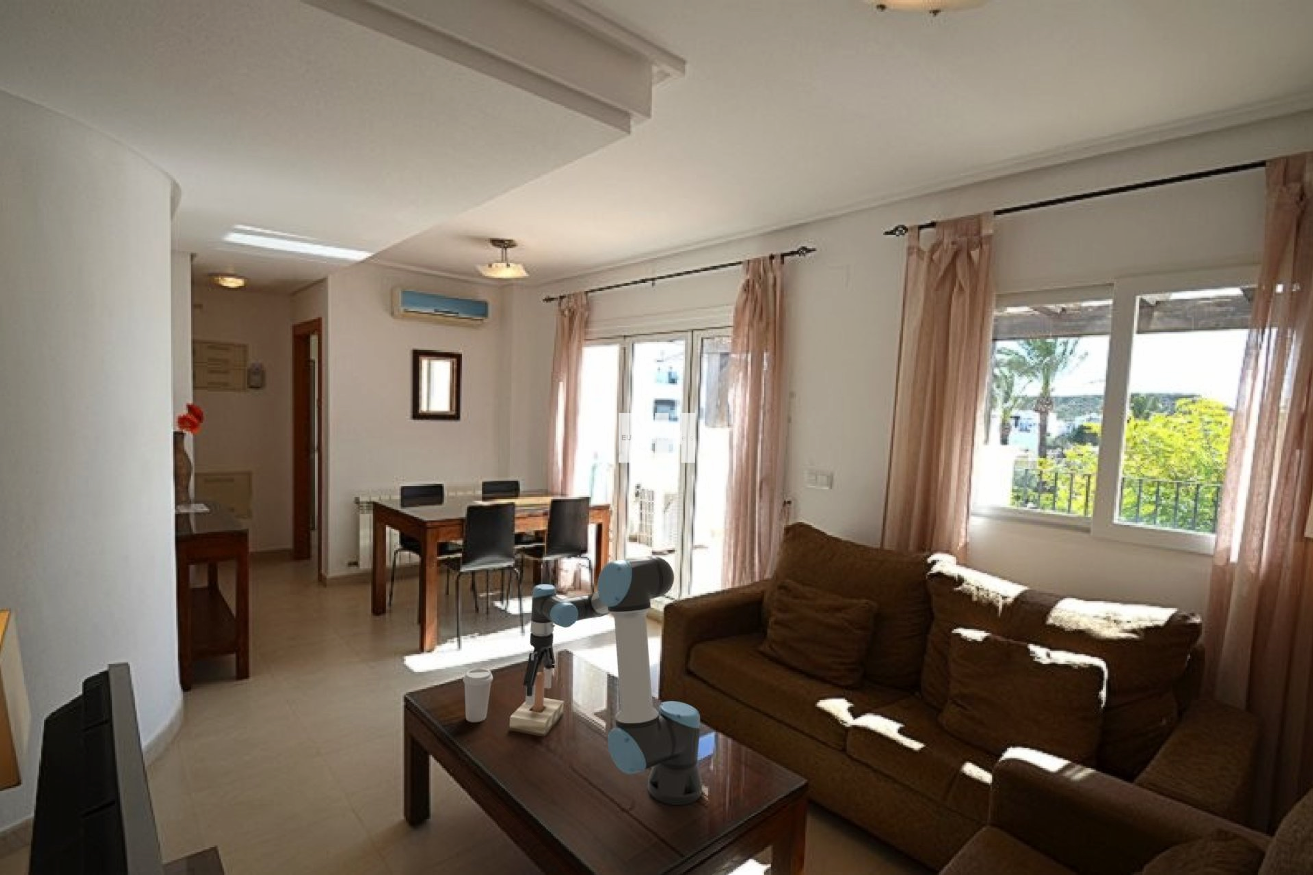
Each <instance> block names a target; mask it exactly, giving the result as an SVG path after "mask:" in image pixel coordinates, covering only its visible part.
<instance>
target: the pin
mask: <svg viewBox="0 0 1313 875" xmlns="http://www.w3.org/2000/svg"><path fill="white" fill-rule="evenodd" d="M534 685H535V700H534V706H532V711H534V712H539V713H542V712H543V703H544V698H545V688H544V685H545V673H543V671H538V673H537V676H536V680H535V683H534Z"/></svg>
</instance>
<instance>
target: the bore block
mask: <svg viewBox="0 0 1313 875" xmlns="http://www.w3.org/2000/svg"><path fill="white" fill-rule="evenodd" d="M525 703H526V700H525V701H524V702H523V703H522V704H521V705H520V706H519V707H518V708H517V709H516V710H515V711H514V712H513V713H512V714H511V715H510V716H509V731H511V732H516V733H522V734H528V735H532V736H537V737H543V738H544V737H546V736H547V734H549V732H550V730H551V729H553V727H554V726H555V725H556V723H557V722H558V721H559V720H560V719H561V718H562V716H563V715H564V703H565V701H564V700H561V699H560V700H559V699H552V698H547V697H544V703H543V712H542V713H539V712H534V711H532V706H530V705H525Z"/></svg>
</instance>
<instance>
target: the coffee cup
mask: <svg viewBox="0 0 1313 875" xmlns="http://www.w3.org/2000/svg"><path fill="white" fill-rule="evenodd" d="M463 676H464V677H463V678H462V682H463V683H464V702H465V719H466V720H467V721H468V722H470V723H479V722H480V723H481V722H482V721H484V720H486V718H487V714H488V709H489V708H488V707H489V701H490V700H489V699H490V692H491V685H492V681H493V680H494V677H493V674H492V671H491V670H489V669H488V668H483V667H477V668H476V667H475V668H471V669H469V670H467V671H466V673H465V675H463Z"/></svg>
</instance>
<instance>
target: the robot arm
mask: <svg viewBox="0 0 1313 875" xmlns="http://www.w3.org/2000/svg"><path fill="white" fill-rule="evenodd" d="M674 574H675V573H674V570H673V567H672V566H671V564H670V563H669V562H668V561H667V560H666V559H663V558H662V557H659V556H655V555H654V556H652V555H651V556H650V555H649V556H643V557H642V556H641V557H633V558H624V559H623V558H622V559H617V560H613V561H609V562H608V563H606V564H605V565H604V566H602V569H601V571H600V572H599V576H598V580H597V591H595V592H592V593H590V594H586V595H581V596H580V595H579V596H572V597H566V598H560V597H558V595H557V589H556V586H555V585H553V584H547V583H545V584H544V583H543V584H541V583H540V584H538V585H535V586H534V587H533V590H532V596H531V614H530V616H531V617H530V618H531V619H530V632H531V633H530V635H529V644H530V646H531V647H533V648H534V649H533V650H532V651H533V652H529V654H528V660H527V661H528V663H527V665H526V670H525V675H524V678H523V679H524V680H523V682H522V683H523V686H525V688H526V689H525V701H526V703H525V705H530V706H534V700H535V685H534V683H535V680H536V676H537V673H538V672H539V670H540V667H541V666H542V664H544V667H543V671H542V672H543V673H545V685H544V689H551V688H552V674H553V672H552V671H553V669H555V668H556V665H555V663H556V659H555V654H554V653H555V652H554V648H553V646H554V645H553V644H554V630H555V629H554V628H555V627H556V626H558V627H562V628H564V629H565V628H570V627H571V626H574V624H576V622H578V621H583V620H586V619H587V620H589V619H594V618H601V617H605V616H607V615H609V614H610V615H611V616H612V617H613V618H614V620H613V621H614V629H615V630H614V632H615V646H616V647H615V648H616V662H617V673H618V674H617V675H618V676H617V677H618V679H617V680H618V689H619V690H618V691H619V692H618V694H619V705H620V706H619V707H620V710H619V711H618V712H617V714H616V715H615V718H614V719H615V727H613V728H612V729H611V730H610V731H609V733H608V735H607V747H608V751H609V755H610V757H611V760H612V761H613V762H614V764H615V766H616V767H617V768H618V769H619V770H620V771H621V772H622V773H624V774H628V775H633V774H636V773H641V772H644V771H645V770H647V769H650V768H651V770H650V772H649V775H648V778H647V790H648V793H649V794H650V795H651V796H652V797H653V798H654V799H655V800H657V801H659V802H660V803H663V804H667V805H672V806H685V805H689V804H690V805H691V804H692V803H694V802H696V801H698V800H699V799H700V797H701V796H702V793H703V781H702V780H703V779H702V776H701V772H700V768H699V765H698V764H699V763H698V759H699V758H698V757H699V744H700V732H701V715H700V713H699V711H698V710H697V708H695V707H694V706H692V705H690V704H687V703H685V702H681V701H674V700H673V701H672V700H670V701H669V700H667V701H663V702H661V703H660V704H659V707H658V709H656V708H655V707H654V705H653V692H652V691H653V690H652V679H651V666H650V653H649V652H650V651H649V641H648V626H647V625H648V624H647V614H648V612H649V611H650V610H651V609H652V607H651V606H652V605H651V600H654V599H656V598H657V599H658V598H660V597H663V596H665V595H666V594H667V593H668V592H669V591H671V589H672V588H673V585H674V582H675V581H674V580H675V575H674Z"/></svg>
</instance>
